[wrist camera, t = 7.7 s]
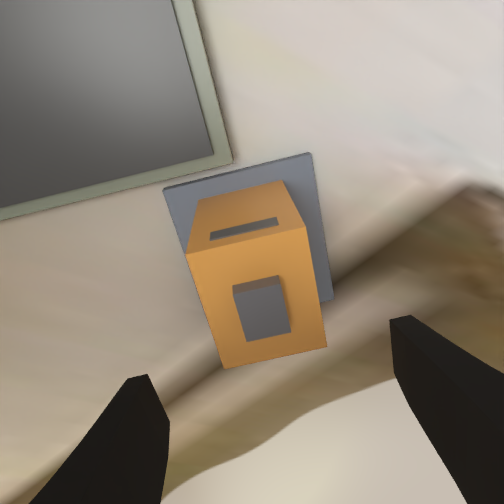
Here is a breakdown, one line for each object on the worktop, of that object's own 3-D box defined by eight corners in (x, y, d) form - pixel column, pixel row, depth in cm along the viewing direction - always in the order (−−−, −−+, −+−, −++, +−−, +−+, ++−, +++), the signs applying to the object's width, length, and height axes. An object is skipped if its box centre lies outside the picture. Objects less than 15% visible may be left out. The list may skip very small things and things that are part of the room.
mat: (210, 322, 21) (209, 327, 21) (164, 187, 18) (162, 190, 17) (332, 294, 21) (334, 299, 20) (308, 152, 17) (310, 154, 17)
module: (225, 289, 20) (224, 382, 14) (198, 198, 18) (182, 261, 12) (299, 272, 20) (331, 358, 14) (281, 178, 17) (309, 232, 11)
